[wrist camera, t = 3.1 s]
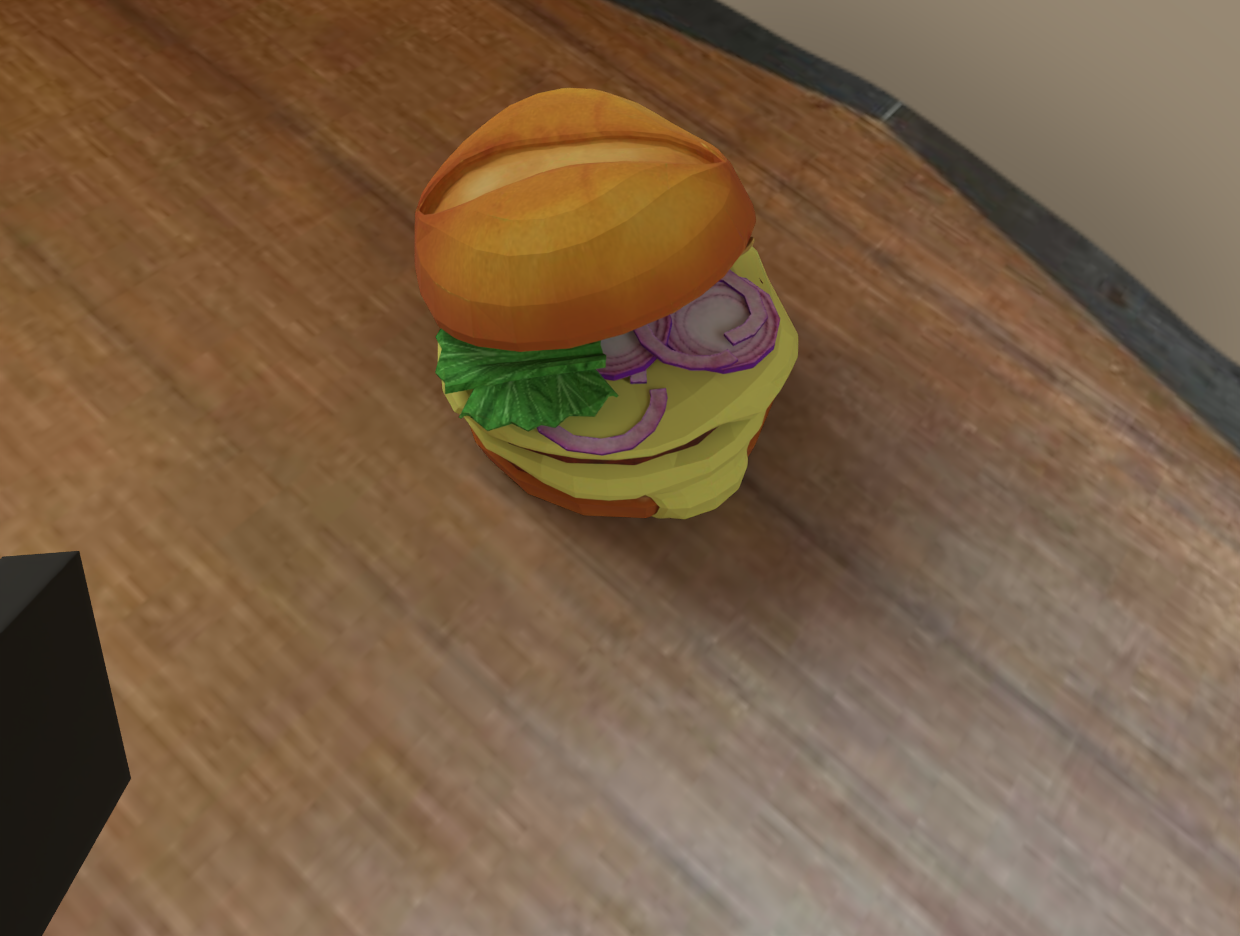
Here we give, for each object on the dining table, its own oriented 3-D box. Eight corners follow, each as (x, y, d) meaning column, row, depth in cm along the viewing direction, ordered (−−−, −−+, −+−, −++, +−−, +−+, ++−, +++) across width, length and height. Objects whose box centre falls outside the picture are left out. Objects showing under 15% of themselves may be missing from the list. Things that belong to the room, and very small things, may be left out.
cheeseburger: (561, 622, 31) (480, 381, 23) (403, 388, 37) (297, 135, 29) (856, 448, 33) (874, 174, 25) (662, 255, 39) (628, -14, 31)
